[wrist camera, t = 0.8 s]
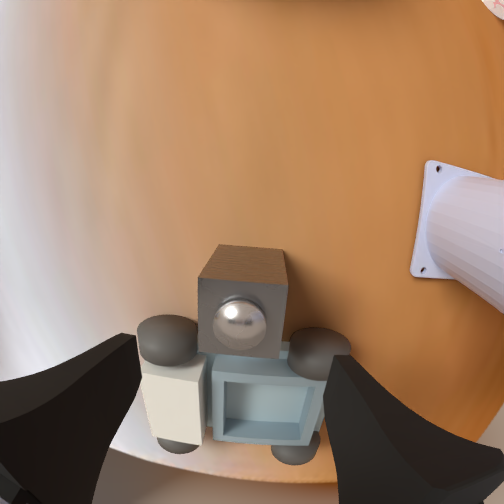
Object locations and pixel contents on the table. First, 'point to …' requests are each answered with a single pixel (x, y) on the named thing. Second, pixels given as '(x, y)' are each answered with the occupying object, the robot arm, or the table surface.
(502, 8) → the beverage cup
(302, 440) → the chassis
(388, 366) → the table surface
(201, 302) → the grey block with knob
